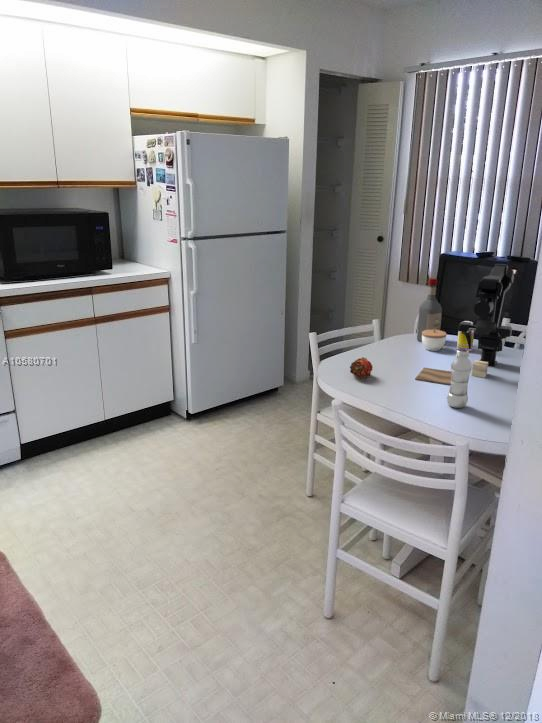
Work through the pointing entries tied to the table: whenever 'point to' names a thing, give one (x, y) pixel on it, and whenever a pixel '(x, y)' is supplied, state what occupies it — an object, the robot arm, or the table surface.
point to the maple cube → (479, 368)
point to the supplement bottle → (464, 340)
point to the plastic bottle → (459, 379)
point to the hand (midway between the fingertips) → (482, 350)
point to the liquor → (429, 311)
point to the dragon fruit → (361, 368)
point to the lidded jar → (433, 339)
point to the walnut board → (435, 376)
